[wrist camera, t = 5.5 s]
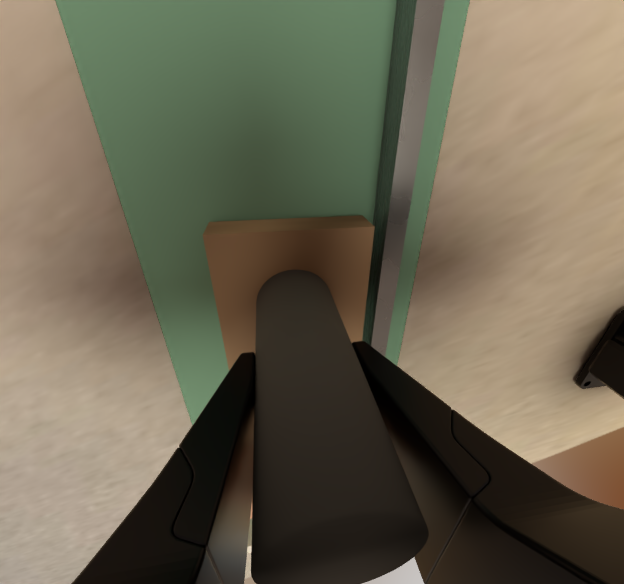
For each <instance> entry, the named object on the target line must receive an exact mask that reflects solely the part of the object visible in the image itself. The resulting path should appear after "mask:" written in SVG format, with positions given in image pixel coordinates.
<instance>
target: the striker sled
mask: <svg viewBox="0 0 624 584" xmlns="http://www.w3.org/2000/svg"><path fill="white" fill-rule="evenodd" d="M374 228H375V227H374V226H373V225H372V224H371V223H370V222H369V221H368V220H367V219H366V218H365V217H364V216H363V215H357V216H334V217H310V218H287V219H264V220H241V221H218V222H209V223H208V225H207V227H206V229H205V231H204V233H203V240H204V245H205V250H206V255H207V260H208V266H209V271H210V276H211V281H212V286H213V291H214V296H215V301H216V307H217V312H218V317H219V322H220V327H221V332H222V337H223V342H224V348H225V353H226V358H227V363H228V368H229V370H230V369H231V367H232V366H233V364H234V363H235V362H236V360H237V359H238V357H239V356H240V354H241V353H247V352H254V353H255V396H254V447H253V494H252V505H251V515H250V519H252V551H251V576H252V578H253V580H254V582H255V583H256V584H361V583H364V582H367V581H370V580H372V579H375V578H378V577H380V576H382V575H385V574H387V573H388V572H391V571H393V570H395V569H396V568H398V567H400V566H402V565H403V564H405V563H406V562H407V561H409V560H410V559H412V558H413V557H414V556H415V555H416V554H417V553H418V552H420V550H421V549H422V548H423V547H424V545H425V544H426V542H427V539H428V536H429V531H428V528H427V525H426V523H425V520H424V518H423V515H422V513H421V510H420V508H419V506H418V503H417V501H416V498H415V496H414V493H413V491H412V489H411V486H410V484H409V481H408V479H407V477H406V474H405V472H404V469H403V467H402V464H401V462H400V460H399V457H398V455H397V452H396V450H395V447H394V445H393V443H392V440H391V438H390V435H389V433H388V430H387V428H386V426H385V423H384V421H383V418H382V416H381V413H380V411H379V409H378V406H377V404H376V401H375V399H374V397H373V394H372V392H371V389H370V387H369V384H368V382H367V380H366V377H365V375H364V372H363V370H362V367H361V365H360V363H359V360H358V358H357V355H356V353H355V350H354V348H353V346H352V342H356V341H362V336H363V327H364V318H365V309H366V300H367V291H368V282H369V273H370V264H371V255H372V246H373V237H374Z"/></svg>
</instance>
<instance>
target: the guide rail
mask: <svg viewBox="0 0 624 584" xmlns="http://www.w3.org/2000/svg"><path fill="white" fill-rule="evenodd" d="M444 3H445V0H397V2H396V12H395V21H394V31H393V40H392V49H391V59H390V68H389V77H388V87H387V96H386V105H385V115H384V124H383V133H382V143H381V152H380V161H379V171H378V180H377V189H376V199H375V208H374V217H373V226H374V227H375V228H374V237H373V246H372V255H371V264H370V273H369V282H368V291H367V300H366V309H365V318H364V327H363V336H362V341H365V342H367V343H368V344H369V345H370V346H372V347H373V348H374V349H376V350H377V351H378V352H380V353H381V354H382V355H383V356H385V355H386V349H387V343H388V337H389V331H390V325H391V319H392V313H393V307H394V301H395V295H396V289H397V283H398V277H399V271H400V265H401V259H402V253H403V247H404V241H405V235H406V229H407V223H408V217H409V211H410V205H411V199H412V193H413V188H414V182H415V176H416V170H417V164H418V158H419V152H420V146H421V140H422V134H423V128H424V122H425V116H426V110H427V104H428V98H429V92H430V86H431V80H432V74H433V68H434V62H435V56H436V50H437V44H438V38H439V32H440V26H441V20H442V14H443V9H444Z"/></svg>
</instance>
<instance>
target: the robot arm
mask: <svg viewBox="0 0 624 584" xmlns="http://www.w3.org/2000/svg"><path fill="white" fill-rule="evenodd" d="M352 346H353V348H354V350H355V353H356V355H357V358H358V360H359V363H360V365H361V367H362V370H363V372H364V375H365V377H366V380H367V382H368V384H369V387H370V389H371V392H372V394H373V397H374V399H375V401H376V404H377V406H378V409H379V411H380V413H381V416H382V418H383V421H384V423H385V426H386V428H387V430H388V433H389V435H390V438H391V440H392V443H393V445H394V447H395V450H396V452H397V455H398V457H399V460H400V462H401V464H402V467H403V469H404V472H405V474H406V477H407V479H408V481H409V484H410V486H411V489H412V491H413V493H414V496H415V498H416V501H417V503H418V506H419V508H420V510H421V513H422V515H423V518H424V520H425V523H426V525H427V528H428V531H429V536H428V539H427V542H426V544H425V545H424V547H423V548H422V549H421V550H420V552H418V553H417V554H416V555H415V556H414V557H415V560H416V562H417V565H418V568H419V571H420V573H421V576H422V579H423V581H424V583H425V584H624V510H623V509H619V508H616V507H612V506H608V505H605V504H602V503H599V502H597V501H594V500H592V499H589V498H587V497H585V496H582V495H581V494H578V493H577V492H575V491H573V490H571V489H569V488H567V487H566V486H564V485H563V484H561V483H559V482H558V481H556V480H555V479H553V478H552V477H550V476H548V475H547V474H546V473H544V472H543V471H541V470H540V469H538V468H537V467H535V466H533V465H532V464H530V463H529V462H527V461H526V460H524V459H523V458H521V457H520V456H518V455H517V454H515V453H514V452H512V451H511V450H509V449H508V448H506V447H505V446H503V445H502V444H500V443H499V442H497V441H496V440H494V439H493V438H491V437H490V436H489V435H487V434H486V433H484V432H483V431H481V430H480V429H479V428H477V427H476V426H475V425H473V424H472V423H471V422H469V421H468V420H467V419H465V418H464V417H463V416H461V415H460V414H459V413H457V412H456V411H455V410H452V409H451V407H449V406H448V405H447V404H446V403H444V402H443V401H442V400H440V399H439V398H438V397H437V396H435V395H434V394H433V393H431V392H430V391H429V390H427V389H426V388H425V387H424V386H422V385H421V384H420V383H418V382H417V381H416V380H414V379H413V378H412V377H411V376H409V375H408V374H407V373H405V372H404V371H403V370H402V369H400V368H399V367H398V366H396V365H395V364H394V363H392V362H391V361H390V360H389V359H387V358H386V357H385V356H383V355H382V354H381V353H380V352H378V351H377V350H376V349H374V348H373V347H372V346H370V345H369V344H368V343H367V342H365V341H356V342H352ZM575 384H577V385H578V386H579V387H580V388H582V389H586V388H593V387H600V386H608V387H609V388H610V389H611V390H613V391H614V392H615V393H617V394H618V395H619V396H621V397H622V398H623V399H624V310H623V311H621V312H620V313H619V314H618V315H617V316H616V318H615V320H614V321H613V323H612V324H611V326H610V327H609V329H608V330H607V332H606V334H605V335H604V337H603V338H602V340H601V341H600V343H599V345H598V346H597V348H596V349H595V351H594V352H593V354H592V356H591V357H590V359H589V360H588V362H587V363H586V365H585V367H584V368H583V370H582V371H581V373H580V374H579V376H578V378H577V379H576V381H575ZM254 396H255V353H254V352H247V353H241V354H240V356H239V357H238V359H237V360H236V362H235V363H234V364H233V366H232V367H231V369H230V370H229V372H228V373H227V375H226V376H225V378H224V379H223V381H222V382H221V384H220V385H219V387H218V388H217V390H216V391H215V393H214V394H213V396H212V397H211V399H210V400H209V402H208V403H207V405H206V406H205V408H204V409H203V411H202V412H201V414H200V415H199V417H198V418H197V420H196V421H195V423H194V424H193V426H192V427H191V429H190V430H189V432H188V433H187V435H186V436H185V438H184V439H183V441H182V442H181V444H180V445H179V448H177V449H176V451H175V452H174V454H173V455H172V457H171V458H170V460H169V461H168V463H167V464H166V465H165V467H164V468H163V470H162V471H161V473H160V474H159V475H158V477H157V478H156V480H155V481H154V482H153V484H152V485H151V486H150V488H149V489H148V490H147V491H146V493H145V494H144V495H143V497H142V498H141V499H140V500H139V502H138V503H137V504H136V506H135V507H134V508H133V509H132V511H131V512H130V513H129V514H128V515H127V517H126V518H125V519H124V520H123V522H122V523H121V524H120V525H119V527H118V528H117V529H116V530H115V532H114V533H113V534H112V535H111V536H110V538H109V539H108V540H107V541H106V543H105V544H104V545H103V546H102V548H101V549H100V550H99V551H98V553H97V554H96V555H95V556H94V557H93V559H92V560H91V561H90V562H89V564H88V565H87V566H86V567H85V569H84V570H83V571H82V572H81V573H80V575H79V576H78V577H77V578H76V579H75V580H74V581H73V583H72V584H244V578H245V567H246V557H247V546H248V536H249V526H250V515H251V505H252V494H253V447H254Z"/></svg>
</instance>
